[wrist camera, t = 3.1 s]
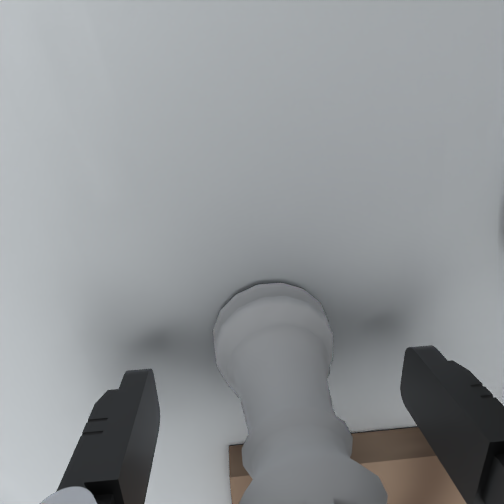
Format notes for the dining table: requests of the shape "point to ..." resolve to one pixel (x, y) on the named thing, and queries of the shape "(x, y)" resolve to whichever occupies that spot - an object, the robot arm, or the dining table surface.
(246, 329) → the rook chess piece
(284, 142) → the dining table surface
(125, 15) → the dining table surface
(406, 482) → the pin board
